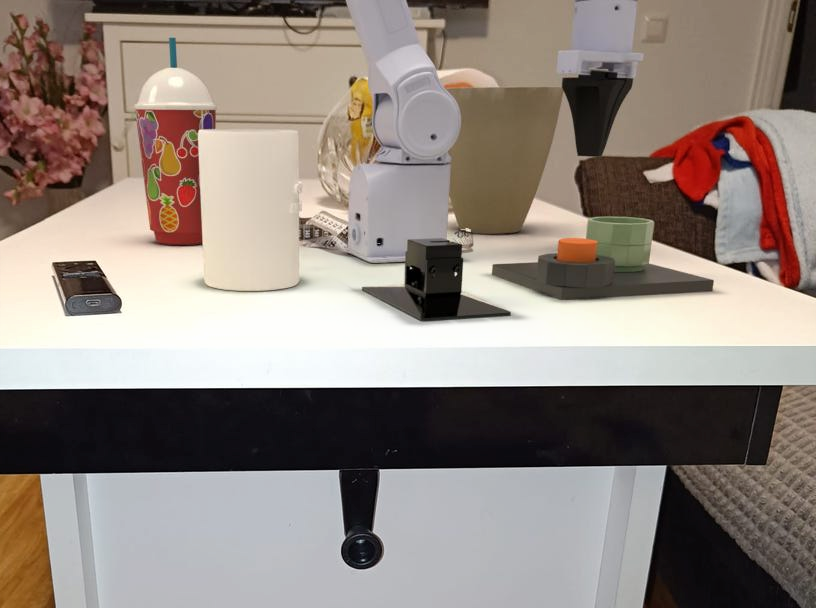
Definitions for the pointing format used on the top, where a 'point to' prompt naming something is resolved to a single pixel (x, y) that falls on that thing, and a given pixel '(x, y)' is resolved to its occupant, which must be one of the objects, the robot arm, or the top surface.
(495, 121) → the plant pot
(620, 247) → the bowl
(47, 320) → the top surface
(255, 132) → the mug
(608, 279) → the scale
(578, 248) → the button
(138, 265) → the top surface
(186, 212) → the smoothie
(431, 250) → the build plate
